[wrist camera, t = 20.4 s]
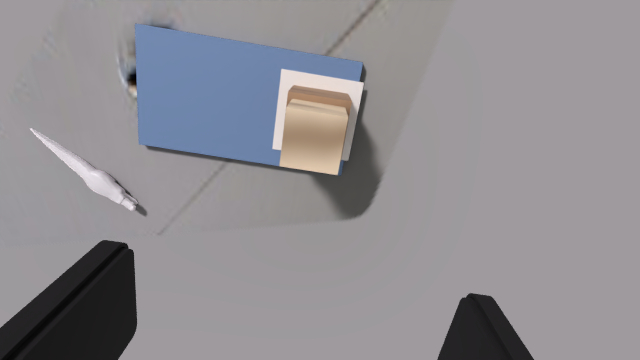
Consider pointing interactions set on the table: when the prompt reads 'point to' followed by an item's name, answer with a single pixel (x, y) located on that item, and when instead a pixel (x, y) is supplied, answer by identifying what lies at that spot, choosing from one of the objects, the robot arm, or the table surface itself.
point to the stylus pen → (90, 174)
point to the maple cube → (313, 136)
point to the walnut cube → (320, 98)
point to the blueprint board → (228, 93)
